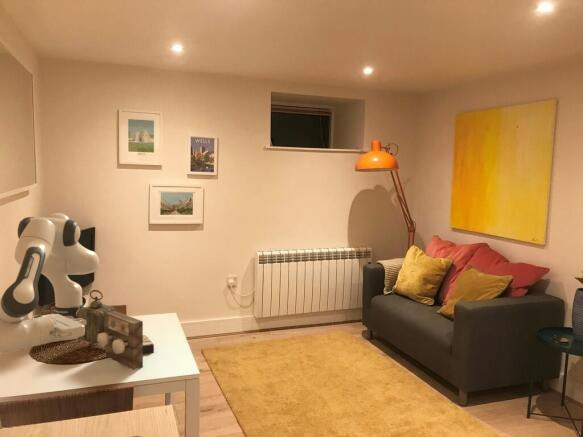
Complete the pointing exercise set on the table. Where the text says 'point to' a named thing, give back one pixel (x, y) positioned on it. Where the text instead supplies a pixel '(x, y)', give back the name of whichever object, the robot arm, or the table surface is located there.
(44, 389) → the table surface
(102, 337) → the button
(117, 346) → the button
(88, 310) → the tabletop clock
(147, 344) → the calculator
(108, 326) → the button panel
